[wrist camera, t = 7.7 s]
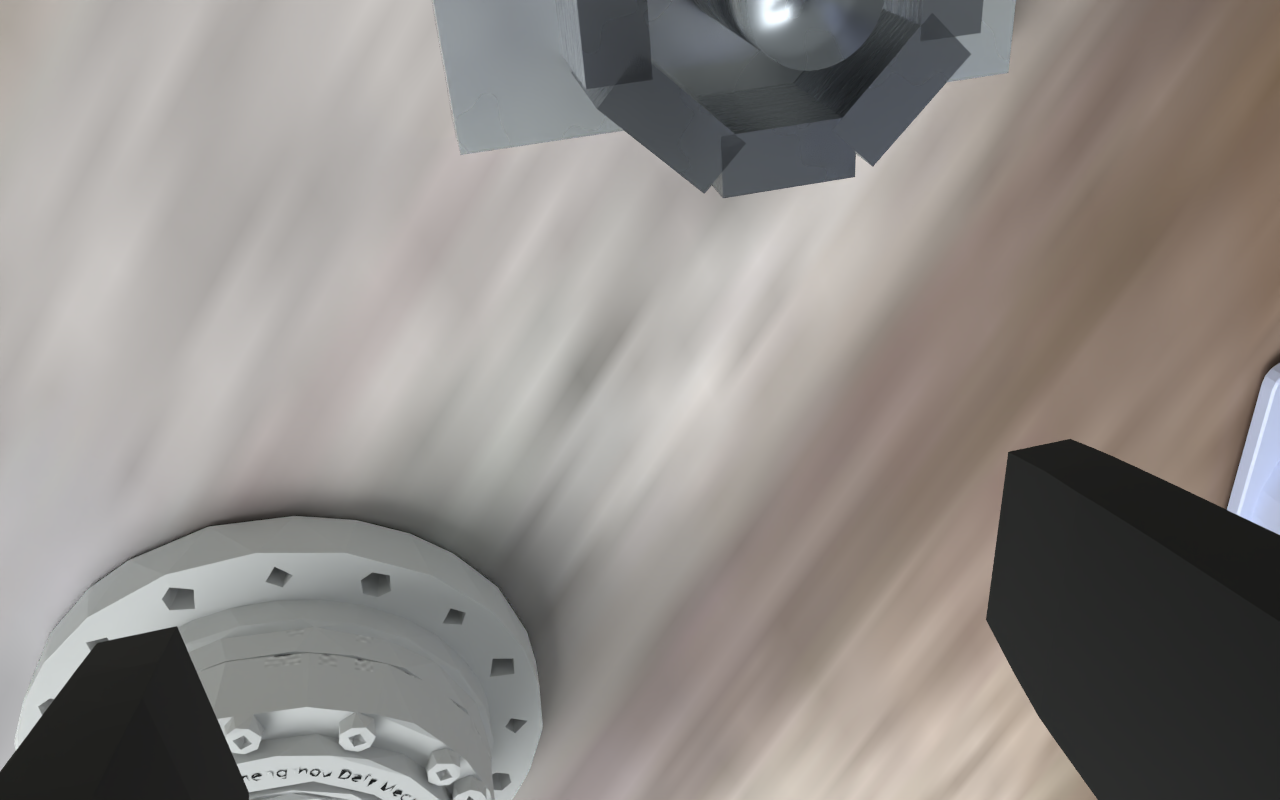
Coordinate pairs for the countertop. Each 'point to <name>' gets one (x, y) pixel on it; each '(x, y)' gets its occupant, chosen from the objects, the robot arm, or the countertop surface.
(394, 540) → the mechanical component
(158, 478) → the countertop surface
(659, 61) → the piston block
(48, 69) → the countertop surface
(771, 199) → the countertop surface
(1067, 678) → the robot arm
